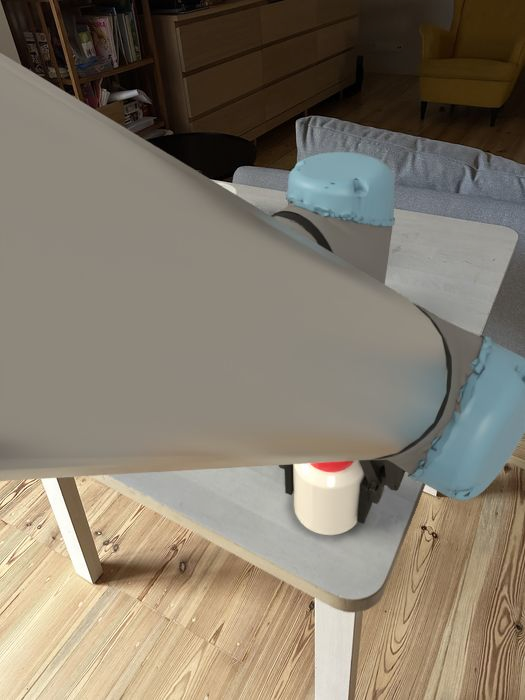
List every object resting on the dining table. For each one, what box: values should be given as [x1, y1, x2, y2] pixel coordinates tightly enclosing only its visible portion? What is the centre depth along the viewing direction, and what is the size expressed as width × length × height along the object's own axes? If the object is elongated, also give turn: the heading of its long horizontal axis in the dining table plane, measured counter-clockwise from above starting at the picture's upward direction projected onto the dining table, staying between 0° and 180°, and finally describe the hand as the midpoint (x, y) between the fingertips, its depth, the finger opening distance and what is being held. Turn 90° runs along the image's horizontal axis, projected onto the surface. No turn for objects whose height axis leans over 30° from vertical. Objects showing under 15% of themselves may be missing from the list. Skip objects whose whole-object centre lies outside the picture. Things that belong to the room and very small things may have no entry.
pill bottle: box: [293, 460, 365, 536], centre depth 58 cm, size 8×8×11 cm
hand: (327, 498), depth 61 cm, fingers open, 8 cm apart
